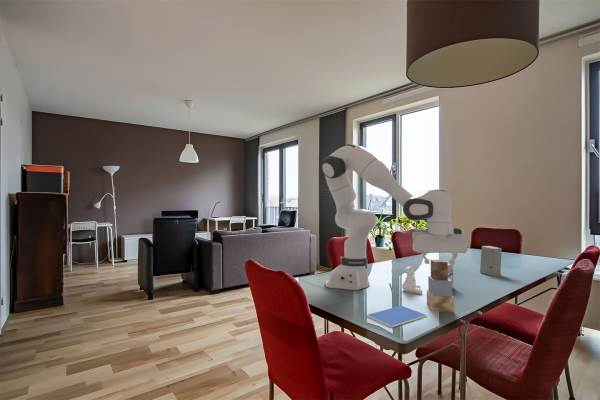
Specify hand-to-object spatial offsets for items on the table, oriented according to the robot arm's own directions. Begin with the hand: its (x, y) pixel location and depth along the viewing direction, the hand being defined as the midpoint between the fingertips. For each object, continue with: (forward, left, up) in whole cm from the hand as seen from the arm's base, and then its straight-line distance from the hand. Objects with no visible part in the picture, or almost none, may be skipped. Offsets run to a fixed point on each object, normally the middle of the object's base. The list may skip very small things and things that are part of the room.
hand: (439, 263), depth 122 cm
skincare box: (+46, +61, -18) cm, 78 cm away
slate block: (0, 0, -12) cm, 12 cm away
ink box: (+11, +30, -18) cm, 36 cm away
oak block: (0, 0, -18) cm, 18 cm away
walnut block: (0, 0, -6) cm, 6 cm away
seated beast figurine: (-6, +22, -18) cm, 29 cm away
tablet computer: (-18, -11, -18) cm, 28 cm away
